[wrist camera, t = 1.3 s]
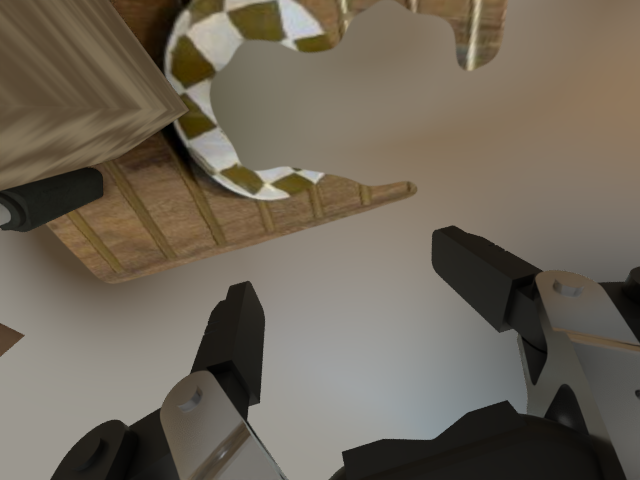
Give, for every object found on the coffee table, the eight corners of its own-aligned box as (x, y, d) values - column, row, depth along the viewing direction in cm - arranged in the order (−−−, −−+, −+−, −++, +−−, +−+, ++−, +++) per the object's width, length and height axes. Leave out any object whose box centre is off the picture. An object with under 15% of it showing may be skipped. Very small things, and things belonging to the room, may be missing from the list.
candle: (65, 190, 37) (-235, 298, 16) (62, 159, 35) (-291, 234, 13) (103, 199, 39) (-123, 310, 17) (102, 170, 37) (-157, 254, 15)
